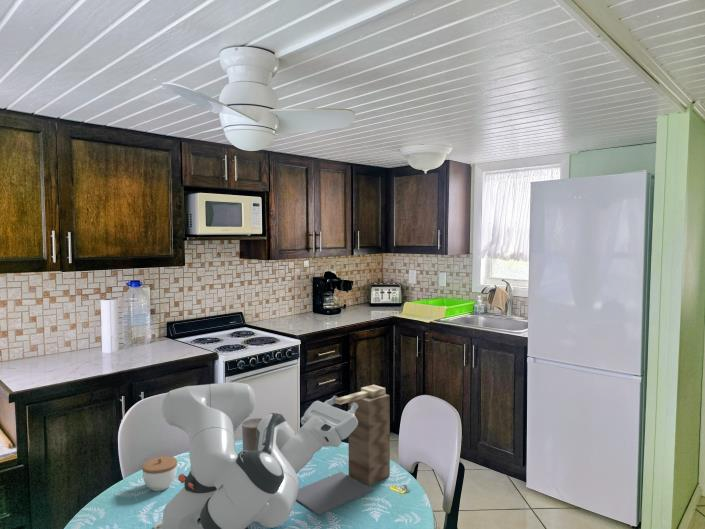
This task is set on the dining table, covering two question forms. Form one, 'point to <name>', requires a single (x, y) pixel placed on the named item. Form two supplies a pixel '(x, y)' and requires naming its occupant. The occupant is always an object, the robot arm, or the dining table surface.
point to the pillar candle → (250, 433)
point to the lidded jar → (159, 472)
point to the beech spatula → (362, 394)
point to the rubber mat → (331, 492)
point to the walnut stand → (370, 440)
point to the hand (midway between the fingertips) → (346, 400)
